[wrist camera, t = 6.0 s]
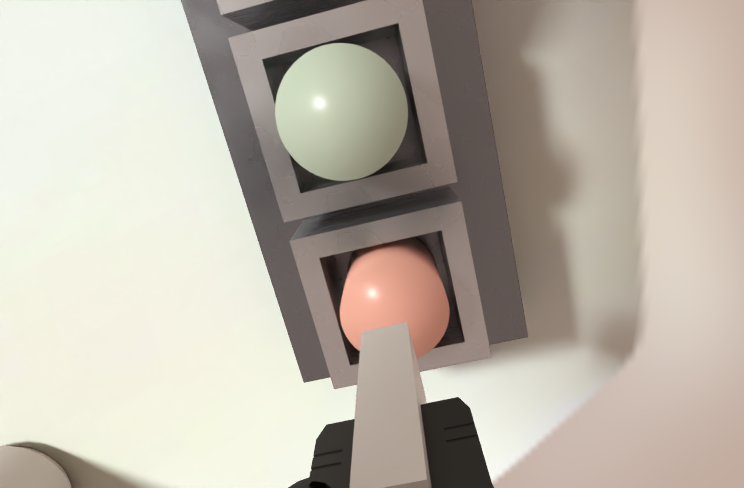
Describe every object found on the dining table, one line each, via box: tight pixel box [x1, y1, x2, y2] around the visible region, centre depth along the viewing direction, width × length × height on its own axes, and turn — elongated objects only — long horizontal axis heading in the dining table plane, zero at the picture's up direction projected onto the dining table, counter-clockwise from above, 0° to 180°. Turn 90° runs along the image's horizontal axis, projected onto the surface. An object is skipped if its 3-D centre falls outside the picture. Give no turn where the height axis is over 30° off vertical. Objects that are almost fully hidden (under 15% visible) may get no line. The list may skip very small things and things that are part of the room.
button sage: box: [275, 43, 408, 181], centre depth 18 cm, size 4×4×4 cm
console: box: [181, 0, 528, 389], centre depth 22 cm, size 26×12×6 cm, turn 14°
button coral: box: [340, 237, 449, 359], centre depth 22 cm, size 4×4×4 cm
